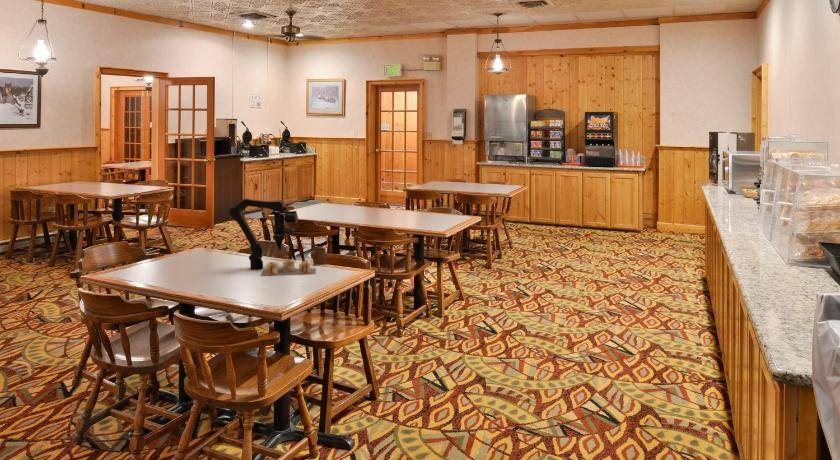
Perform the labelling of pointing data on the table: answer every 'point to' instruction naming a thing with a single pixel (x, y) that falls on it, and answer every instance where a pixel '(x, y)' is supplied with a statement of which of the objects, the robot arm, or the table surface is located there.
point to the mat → (296, 272)
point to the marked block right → (304, 267)
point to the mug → (319, 256)
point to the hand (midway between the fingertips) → (280, 249)
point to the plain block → (288, 265)
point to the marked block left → (271, 268)
